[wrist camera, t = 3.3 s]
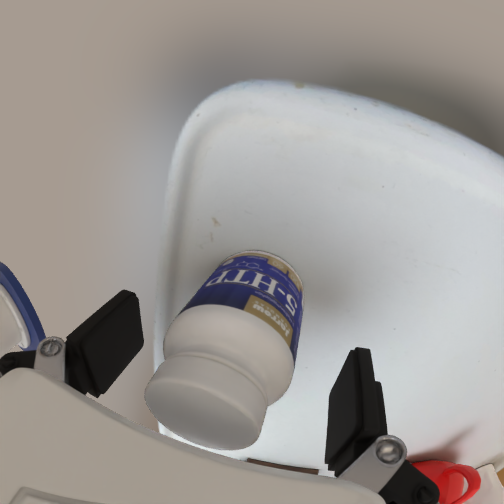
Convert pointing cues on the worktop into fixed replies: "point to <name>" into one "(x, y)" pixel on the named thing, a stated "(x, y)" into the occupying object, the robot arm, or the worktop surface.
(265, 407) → the pill bottle
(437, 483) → the teapot
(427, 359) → the worktop surface
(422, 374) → the worktop surface
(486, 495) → the cup
